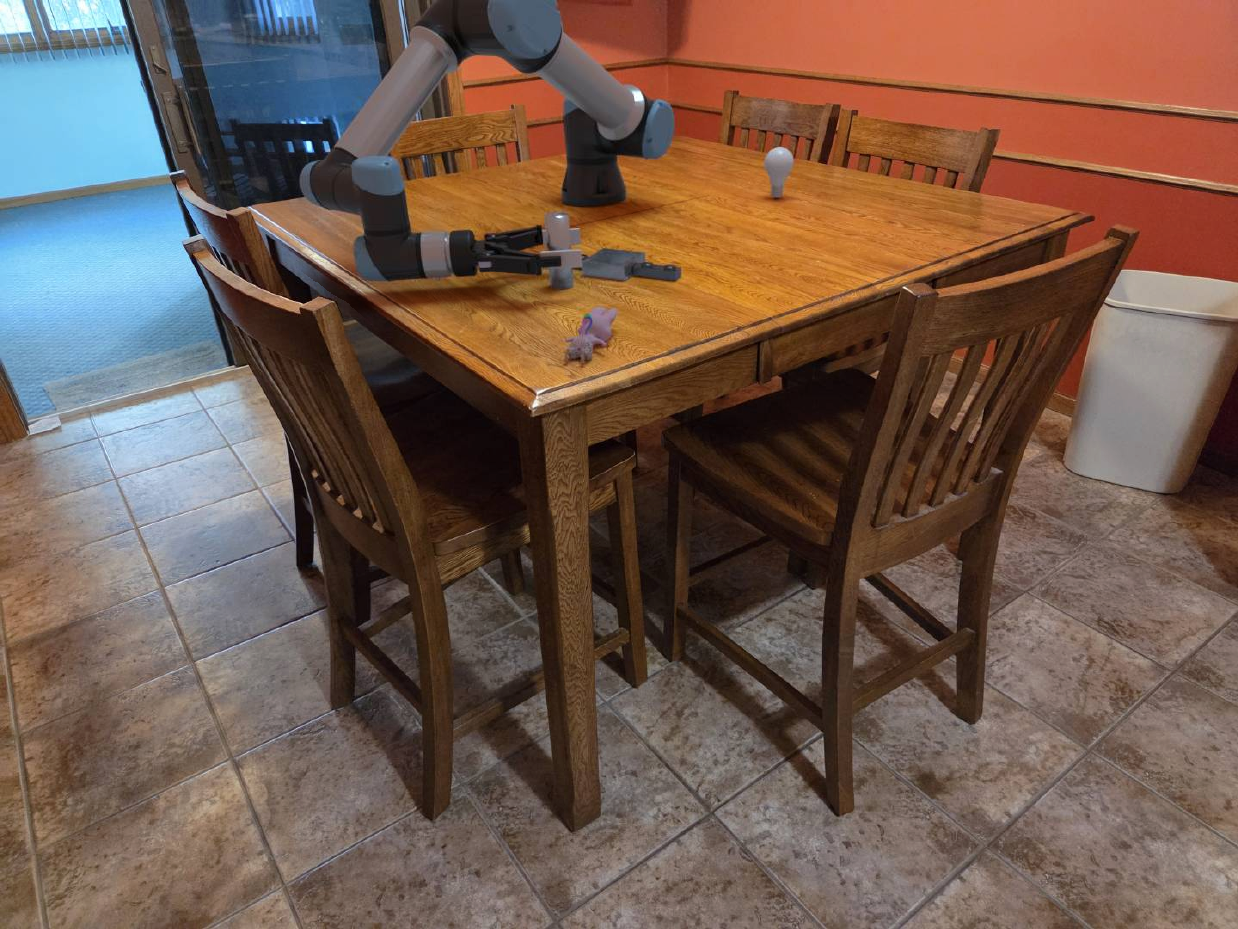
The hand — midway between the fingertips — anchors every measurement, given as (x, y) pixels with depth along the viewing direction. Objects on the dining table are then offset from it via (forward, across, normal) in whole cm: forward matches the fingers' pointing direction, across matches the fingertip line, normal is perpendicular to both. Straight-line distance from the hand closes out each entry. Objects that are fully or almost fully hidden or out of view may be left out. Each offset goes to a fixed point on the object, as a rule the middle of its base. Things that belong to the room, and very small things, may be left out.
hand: (581, 246), depth 136 cm
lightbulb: (+45, -50, -7) cm, 68 cm away
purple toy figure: (+1, +26, -7) cm, 27 cm away
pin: (-4, 0, -6) cm, 8 cm away
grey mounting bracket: (+6, -6, -6) cm, 11 cm away
